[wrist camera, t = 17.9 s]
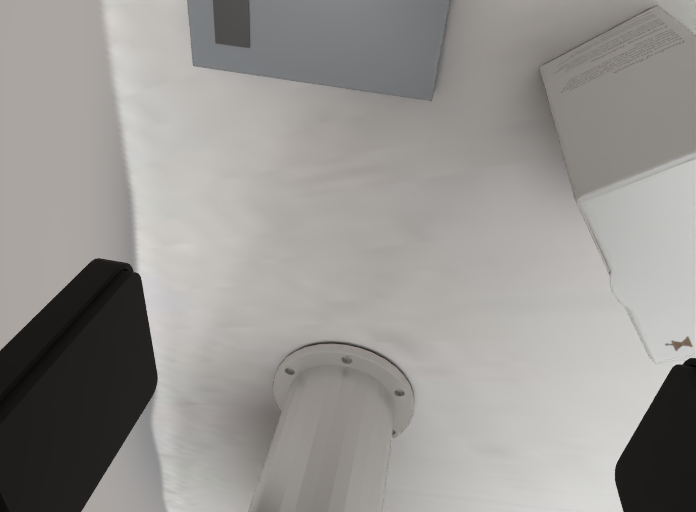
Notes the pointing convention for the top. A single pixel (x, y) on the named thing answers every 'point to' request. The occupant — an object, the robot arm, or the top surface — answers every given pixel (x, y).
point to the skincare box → (636, 167)
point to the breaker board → (324, 41)
